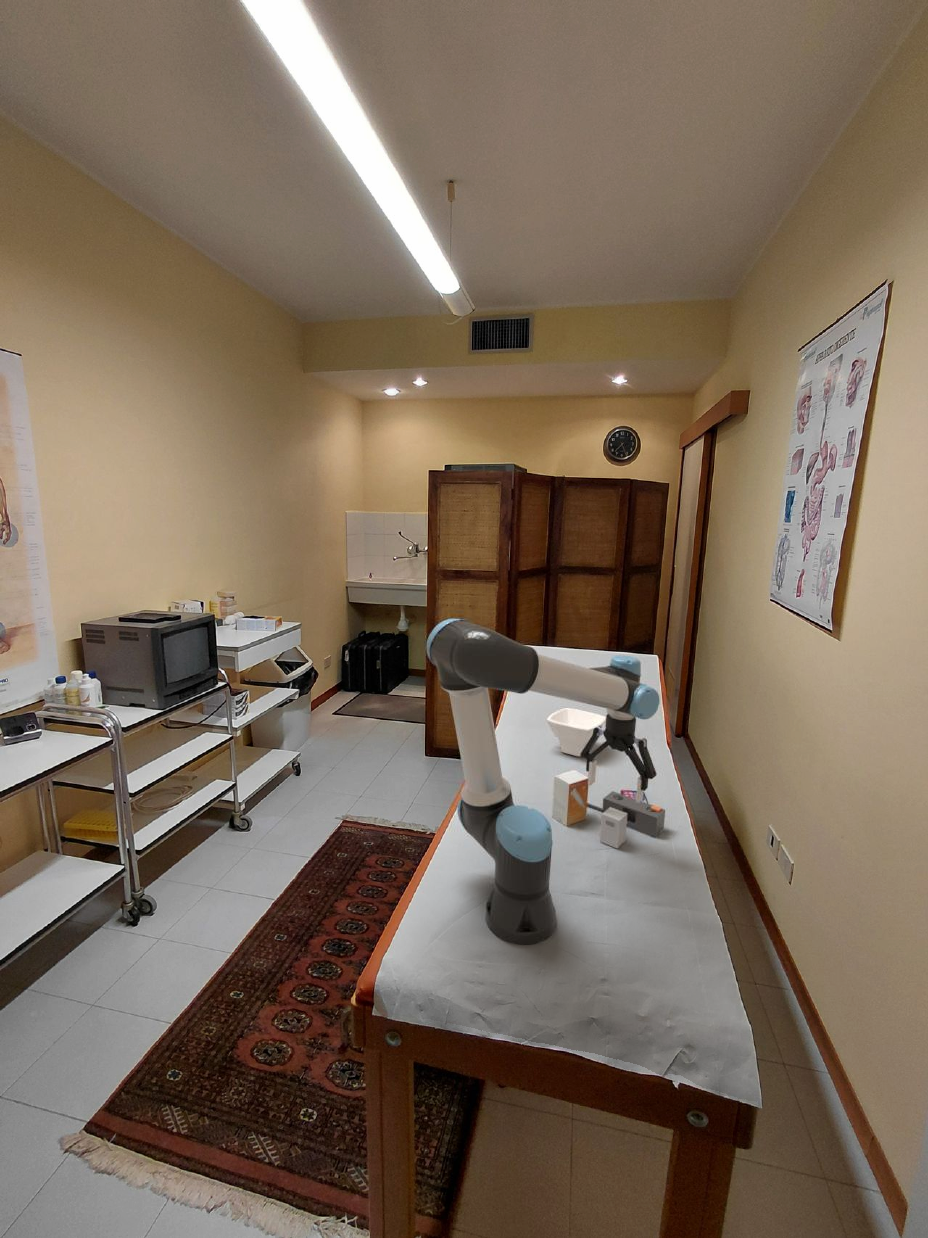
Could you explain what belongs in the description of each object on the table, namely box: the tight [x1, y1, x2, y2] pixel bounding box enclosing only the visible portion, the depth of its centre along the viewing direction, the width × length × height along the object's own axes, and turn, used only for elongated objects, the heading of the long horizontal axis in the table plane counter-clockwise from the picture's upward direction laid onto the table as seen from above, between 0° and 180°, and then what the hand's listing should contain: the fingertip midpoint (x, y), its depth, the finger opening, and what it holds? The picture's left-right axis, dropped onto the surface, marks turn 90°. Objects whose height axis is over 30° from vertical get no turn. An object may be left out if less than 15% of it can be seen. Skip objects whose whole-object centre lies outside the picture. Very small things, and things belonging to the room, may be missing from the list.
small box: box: [551, 769, 589, 827], centre depth 158 cm, size 8×6×13 cm
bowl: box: [546, 707, 606, 757], centre depth 204 cm, size 19×19×14 cm
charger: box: [599, 807, 627, 849], centre depth 148 cm, size 9×5×8 cm, turn 140°
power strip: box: [587, 790, 666, 839], centre depth 159 cm, size 6×24×7 cm, turn 50°
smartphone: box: [620, 789, 649, 804], centre depth 168 cm, size 8×1×15 cm
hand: (614, 791), depth 144 cm, fingers open, 13 cm apart
